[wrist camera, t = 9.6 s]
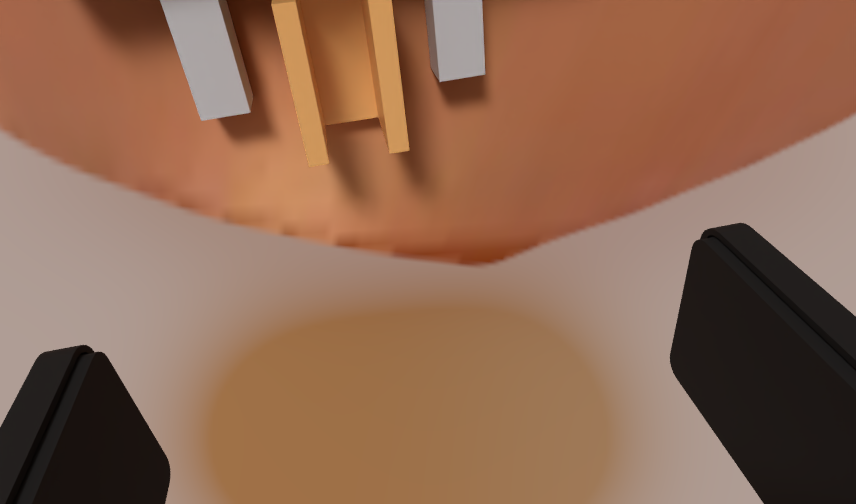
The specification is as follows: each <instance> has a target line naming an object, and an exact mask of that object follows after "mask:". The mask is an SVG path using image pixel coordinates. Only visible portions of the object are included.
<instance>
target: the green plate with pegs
mask: <svg viewBox="0 0 856 504" xmlns="http://www.w3.org/2000/svg"><path fill="white" fill-rule="evenodd" d="M160 2H161V5H162V7H163V10H164V13H165V16H166V19H167V22H168V25H169V28H170V31H171V34H172V37H173V40H174V42H175V45H176V48H177V51H178V54H179V57H180V60H181V63H182V66H183V69H184V72H185V75H186V78H187V80H188V83H189V86H190V89H191V92H192V95H193V98H194V101H195V104H196V107H197V110H198V113H199V115H200V118H201V121H203V120H209V119H215V118H221V117H227V116H233V115H240V114H246V113H251V107H252V101H253V93H252V90H251V86H250V83H249V79H248V75H247V72H246V68H245V65H244V61H243V58H242V54H241V51H240V47H239V43H238V40H237V36H236V33H235V29H234V26H233V22H232V19H231V15H230V11H229V8H228V4H227V1H226V0H160ZM424 2H425V12H426V23H427V33H428V43H429V53H430V64H431V69H432V71H433V72H434V74H435V75H436V77H437V78H438V80H439V82H442V81H449V80H455V79H461V78H467V77H473V76H479V75H485V57H484V34H483V12H482V0H424Z"/></svg>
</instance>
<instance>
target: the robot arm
mask: <svg viewBox="0 0 856 504" xmlns="http://www.w3.org/2000/svg"><path fill="white" fill-rule="evenodd" d="M670 363H671V367H672V370H673V373H674V375H675V376H676V378H677V380H678V381H679V382H680V384H681V385H682V387H683V388H684V389H685V391H686V393H687V394H688V395H689V397H690V398H691V400H692V401H693V403H694V404H695V405H696V407H697V408H698V410H699V411H700V413H701V414H702V415H703V417H704V418H705V420H706V421H707V422H708V424H709V425H710V427H711V428H712V430H713V431H714V433H715V434H716V436H717V437H718V438H719V440H720V441H721V443H722V444H723V446H724V447H725V448H726V450H727V451H728V453H729V454H730V456H731V457H732V459H733V460H734V461H735V463H736V464H737V466H738V467H739V468H740V470H741V471H742V473H743V474H744V476H745V477H746V478H747V480H748V481H749V483H750V484H751V486H752V487H753V488H754V490H755V491H756V493H757V494H758V496H759V497H760V499H761V500H762V501H763V503H764V504H856V316H854V315H853V314H852V313H851V312H850V311H848V310H847V309H846V308H845V307H844V306H843V305H841V304H840V303H839V302H838V301H837V300H836V299H834V298H833V297H832V296H831V295H830V294H829V293H827V292H826V291H825V290H824V289H823V288H822V287H820V286H819V285H818V284H817V283H816V282H815V281H813V280H812V279H811V278H810V277H809V276H808V275H806V274H805V273H804V272H803V271H802V270H801V269H799V268H798V267H797V266H796V265H795V264H794V263H792V262H791V261H790V260H789V259H788V258H787V257H785V256H784V255H783V254H782V253H781V252H779V251H778V250H777V249H776V248H775V247H774V246H772V245H771V244H770V243H769V242H768V241H767V240H765V239H764V238H763V237H762V236H761V235H760V234H758V233H757V232H756V231H755V230H754V229H753V228H751V227H750V226H748V225H747V224H744V223H737V224H732V225H727V226H721V227H716V228H710V229H707V230H705V231H704V232H703V234H702V236H701V238H700V240H697V241H695V242H694V244H693V246H692V250H691V255H690V260H689V265H688V269H687V274H686V280H685V284H684V289H683V295H682V299H681V304H680V309H679V314H678V319H677V324H676V329H675V334H674V338H673V343H672V348H671V353H670ZM169 483H170V466H169V461H168V459H167V457H166V455H165V453H164V452H163V450H162V448H161V446H160V445H159V443H158V441H157V440H156V438H155V436H154V435H153V433H152V431H151V430H150V428H149V426H148V425H147V423H146V421H145V420H144V418H143V416H142V415H141V413H140V411H139V410H138V408H137V406H136V404H135V403H134V401H133V399H132V398H131V396H130V394H129V393H128V391H127V389H126V388H125V386H124V384H123V383H122V381H121V379H120V378H119V376H118V374H117V372H116V371H115V369H114V367H113V366H112V364H111V362H110V361H109V359H108V358H107V356H106V355H105V354H104V353H102V352H94V351H93V350H92V348H90V347H89V346H87V345H80V346H74V347H69V348H64V349H59V350H53V351H48V352H44V353H42V354H40V355H39V357H38V358H37V359H36V361H35V363H34V365H33V366H32V368H31V370H30V372H29V374H28V376H27V378H26V380H25V382H24V384H23V385H22V388H21V389H20V391H19V393H18V395H17V397H16V399H15V401H14V403H13V405H12V406H11V408H10V410H9V412H8V414H7V416H6V418H5V420H4V422H3V424H2V425H1V427H0V504H165V501H166V497H167V492H168V487H169Z"/></svg>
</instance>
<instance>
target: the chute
mask: <svg viewBox="0 0 856 504" xmlns="http://www.w3.org/2000/svg"><path fill="white" fill-rule="evenodd" d="M271 6H272V10H273V14H274V19H275V23H276V27H277V32H278V36H279V40H280V44H281V49H282V53H283V57H284V62H285V66H286V70H287V75H288V79H289V83H290V88H291V92H292V96H293V101H294V105H295V109H296V114H297V118H298V122H299V127H300V131H301V135H302V139H303V144H304V148H305V152H306V157H307V161H308V165H309V167H313V166H319V165H325V164H329V156H328V147H327V137H326V128H325V126H326V125H332V124H338V123H345V122H351V121H357V120H363V119H370V118H376V117H378V118H379V121H380V125H381V128H382V131H383V134H384V137H385V141H386V144H387V147H388V150H389V153H390V154H392V153H398V152H404V151H409V142H408V134H407V125H406V117H405V109H404V100H403V92H402V84H401V75H400V67H399V59H398V50H397V42H396V34H395V25H394V17H393V9H392V0H272V3H271Z"/></svg>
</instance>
